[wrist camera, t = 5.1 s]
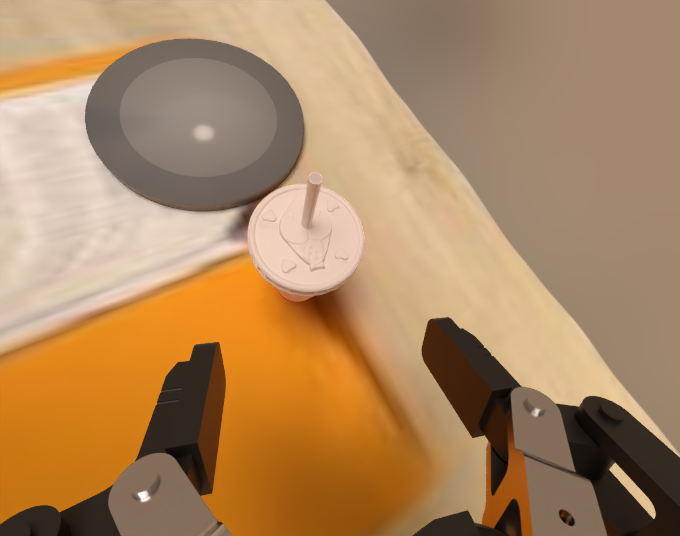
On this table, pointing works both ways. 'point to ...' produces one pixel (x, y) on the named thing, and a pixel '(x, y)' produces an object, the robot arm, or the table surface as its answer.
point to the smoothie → (305, 239)
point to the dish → (195, 124)
